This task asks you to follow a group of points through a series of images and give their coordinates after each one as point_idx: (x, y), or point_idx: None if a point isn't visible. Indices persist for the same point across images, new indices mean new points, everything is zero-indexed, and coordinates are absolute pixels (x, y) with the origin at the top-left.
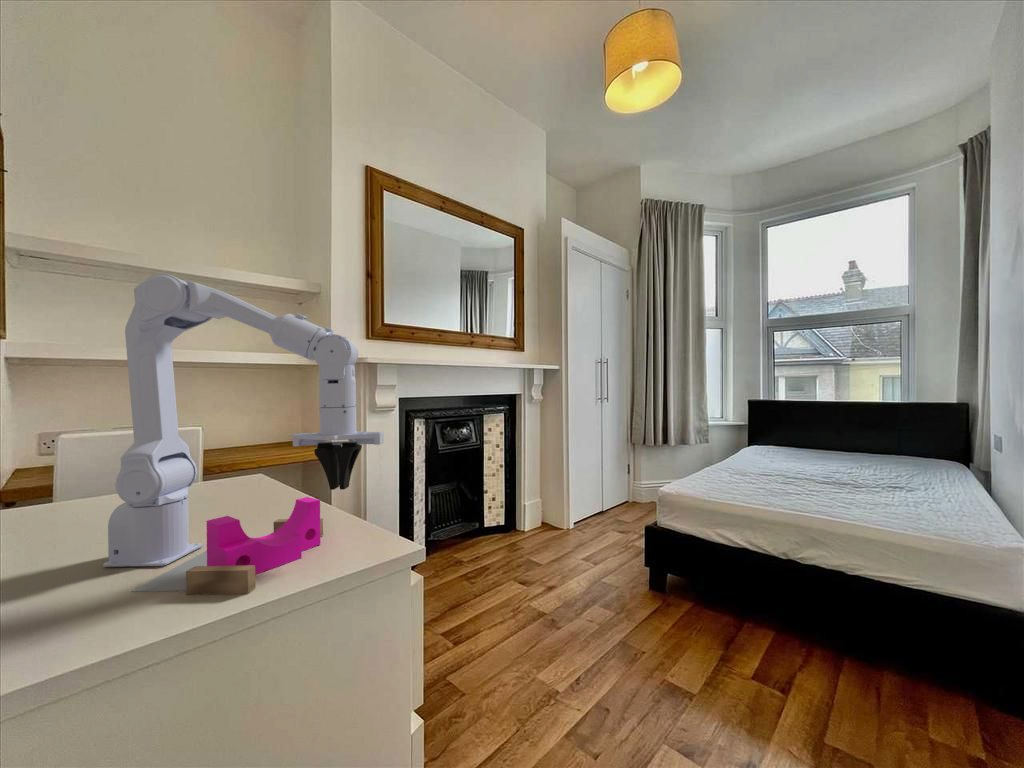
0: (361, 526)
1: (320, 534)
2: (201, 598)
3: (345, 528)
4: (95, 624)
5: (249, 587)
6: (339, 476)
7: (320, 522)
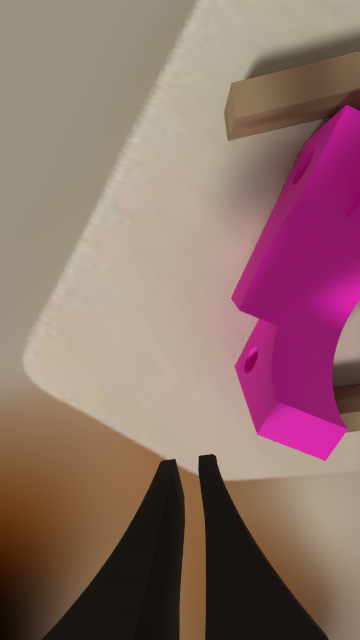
0: None
1: None
2: None
3: (237, 455)
4: None
5: (226, 112)
6: (164, 499)
7: None
